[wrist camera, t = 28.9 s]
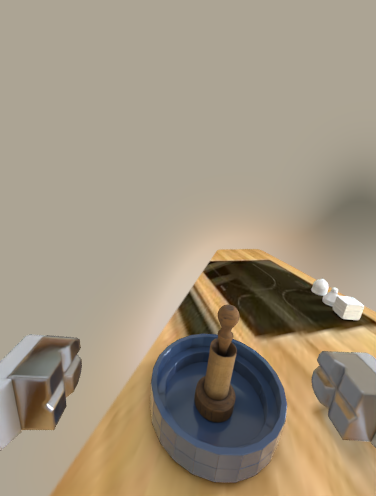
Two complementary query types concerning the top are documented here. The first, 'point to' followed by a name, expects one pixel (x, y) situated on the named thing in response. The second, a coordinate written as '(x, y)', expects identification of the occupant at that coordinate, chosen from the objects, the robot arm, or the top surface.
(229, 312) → the mortar and pestle
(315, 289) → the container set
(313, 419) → the top surface
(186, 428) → the bowl
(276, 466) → the top surface
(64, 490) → the top surface
